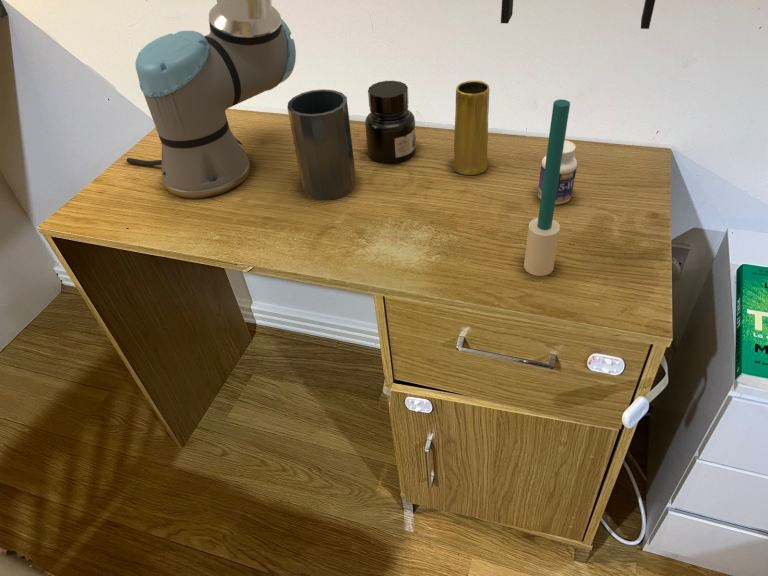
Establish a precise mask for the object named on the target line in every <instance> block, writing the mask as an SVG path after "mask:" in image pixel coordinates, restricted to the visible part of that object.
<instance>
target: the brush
mask: <svg viewBox="0 0 768 576" xmlns="http://www.w3.org/2000/svg"><path fill="white" fill-rule="evenodd" d="M570 107H571V102H570V101H569V100H566V99H556V100H554V101H553V104H552V111H551V120H550V127H549V134H548V141H547V148H546V155H547V156H546V155H545V156H546V164H545V171H544V179H543V186H542V194H541V199H540V201H539V210H538V211H539V212H538V217H536V218H533V219H532V220H530V221H529V224H528V228H527V234H526V235H527V237H526V243H525V253H524V262H523V268H524V270H525V271H526V272H527V273H528V274H530V275H533V276H535V277H543V276H548V275H550V274H551V273H552V272H553V270H554V267H555V261H556V255H557V251H558V250H557V248H558V243H559V237H560V231H561V225H560V224H559V222H558V221H556V220H555V219H554V213H555V212H554V211H555V206H556V204H555V200H556V194H557V187H558V180H559V174H560V167H561V161H562V154H563V148H564V141H565V140H566V134H567V127H568V121H569V114H570V109H571V108H570Z"/></svg>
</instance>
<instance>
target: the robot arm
mask: <svg viewBox="0 0 768 576" xmlns="http://www.w3.org/2000/svg"><path fill="white" fill-rule="evenodd" d="M655 4H656V0H644V3H643V9H642V13H641V17H640V18H641V19H640V29H641V30H649V29H650V26H651V22H652V17H653V13H654V8H655ZM513 9H514V0H501V11H500V24H509V22H510V20H511V19H512V16H513V12H514V11H513ZM208 23H209V33H207V34H206V35H204V34H202V33H200V32H199V31H195V30H181V31H177V32H175V33H168V34H165V35H162V36H160V37H157V38H156V39H154V40H152V41H150V42H149V43H147V44H146V45H145V46H144V47H143V48H141V49H140V51H139V52H138V53H137V57H136V59H135V62H134V63H135V70H136V74H137V78H138V83H139V87H140V88H139V89H140V90H141V92H142V94H143V97H144V99H145V102H146V105H147V107H148V110H149V113H150V115H151V119H152V121H153V124H154V127H155V129H156V132H157V135H158V138H159V140H160V141H159V142H160V144H161V159H156V160H144V159H138V158H132V157H126V160H125V161H126V163H127V164H132V165H139V166H146V167H153V166H154V167H155V166H161V178H162V181H163V184H164V187H165V189H166V190H167V192H169V193H170V194H172V195H173V196H176V197H179V198H182V199H183V198H184V199H203V198H204V199H205V198H210V197H211V198H212V197H215V196H218V195H222V194H224V193H226V192H229V191H231V190H233V189H235V188H236V187H238V186H239V185H241V184H242V183H243V182H244V181H246V179H247V178H248V176H249V175H250V172H251V164H250V161H249V157H248V155H247V152H245V150H244V149H243V148H242V146H243V144H242V142H241V141H240V140H239V139H237V138H236V136H235V135H234V133H233V132H232V130H231V128H230V124H229V121H228V117H227V113H226V110H228V109H230V108H232V107H234V106H237V105H238V104H240V103H243V102H245V101H247V100H249V99H252V98H253V97H256V96H258V95H260V94H262V93H264V92H267V91H271V90H273V89H275V88H276V87H278V86H279V85H280V84H282V83H284V82H285V81H287V80H288V79H289V78H290V76H291V75H292V73H293V72H294V69H295V65H296V60H297V51H296V43H295V40H294V38H292V37H291V35H292V31H291V30H290V27H289V26H288V24H287V23H286V22H285V20H283V18H282V16H281V14H280V12H279V11H278V10H277V9H276V8H275V7H274V6H273V5H272V0H216V4H215V5H214V6H212V7H211V9H210V10H209V12H208Z"/></svg>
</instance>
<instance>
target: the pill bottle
mask: <svg viewBox="0 0 768 576" xmlns="http://www.w3.org/2000/svg"><path fill="white" fill-rule="evenodd" d="M576 148H577V145H575V143H574V142H572V141H570V140H566V139H565V141H564V148H563V154H562V161H561V167H560V174H559V180H558V187H557V194H556V200H555V205H563V204H566V203H568V202H569V201H570V200H571V199H572V195H573V189H574V185H575V179H576V173H577V169H578V160H577V159H576V157H575V155H576ZM546 156H547V154H546V155H545V156H544V157H543V158H542V160H541V165H540V171H539V172H540V174H539V180H538V186H537V197H538V198H539V200H541V194H542V186H543V179H544V171H545V164H546Z"/></svg>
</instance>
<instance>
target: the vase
mask: <svg viewBox="0 0 768 576" xmlns="http://www.w3.org/2000/svg"><path fill="white" fill-rule="evenodd" d="M489 111H490V85H489V84H488V83H486V82H485V81H481V80H466V81H462V82H460V83H459V84H457V86H456V88H455V113H454V136H453V161H452V169H453V170H454V171H455V172H456V173H458V174H460V175H463V176H476V175H480V174H482V173H484V172H485V171H487V169H488V167H489V161H488V160H489V159H488V141H489Z"/></svg>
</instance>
